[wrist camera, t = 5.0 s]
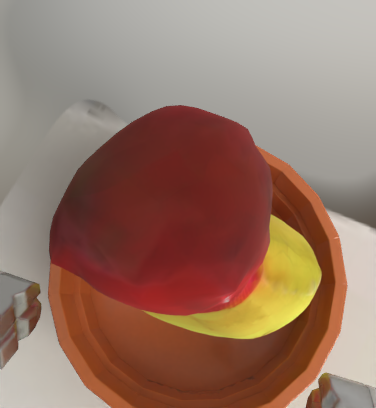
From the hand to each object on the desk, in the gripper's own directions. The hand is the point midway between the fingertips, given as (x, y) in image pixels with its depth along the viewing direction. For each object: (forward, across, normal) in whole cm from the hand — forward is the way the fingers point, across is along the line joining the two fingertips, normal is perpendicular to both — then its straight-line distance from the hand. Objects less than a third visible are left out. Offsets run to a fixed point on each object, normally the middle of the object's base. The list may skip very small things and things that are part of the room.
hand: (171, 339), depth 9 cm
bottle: (+13, 0, +8) cm, 15 cm away
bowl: (+13, 0, +9) cm, 16 cm away
